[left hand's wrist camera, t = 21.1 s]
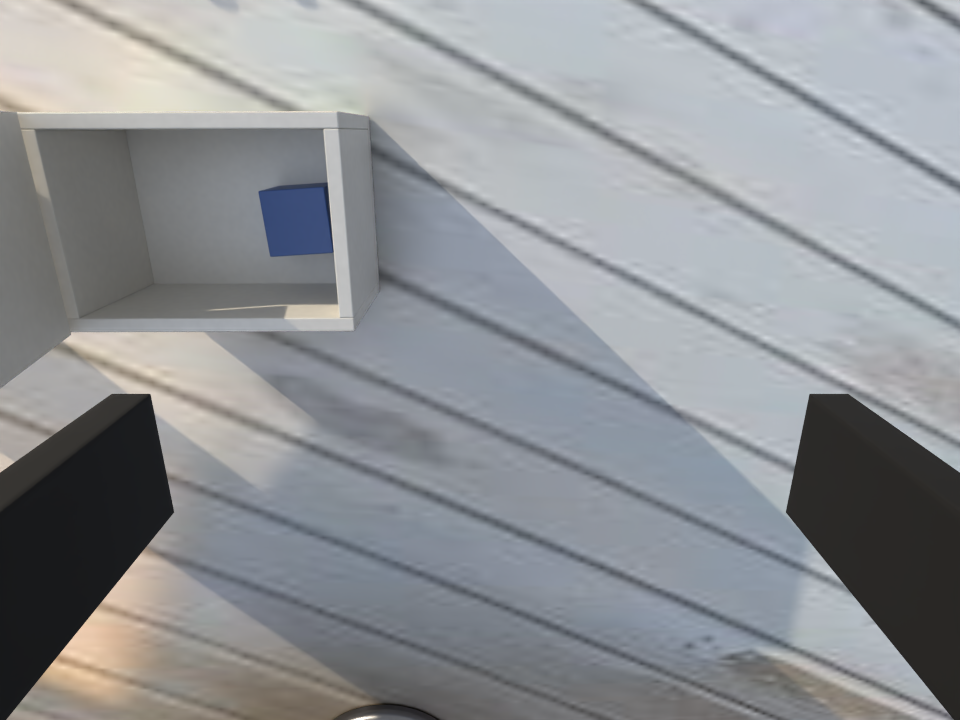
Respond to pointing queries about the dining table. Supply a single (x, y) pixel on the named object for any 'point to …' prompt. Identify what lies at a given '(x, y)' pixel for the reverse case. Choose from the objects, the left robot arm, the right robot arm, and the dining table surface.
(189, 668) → the dining table surface
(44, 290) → the lid
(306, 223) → the block
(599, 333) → the dining table surface
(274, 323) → the chest
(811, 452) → the left robot arm
